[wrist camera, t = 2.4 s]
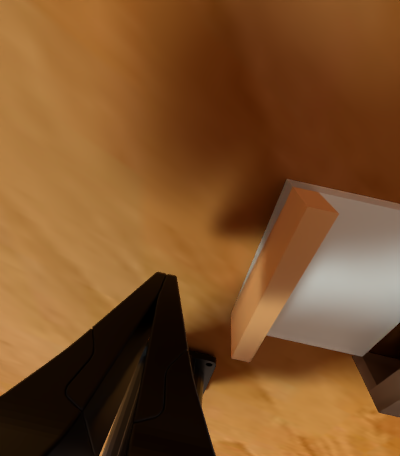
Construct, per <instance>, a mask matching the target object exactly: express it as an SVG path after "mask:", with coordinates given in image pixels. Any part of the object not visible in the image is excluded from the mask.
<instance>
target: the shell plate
mask: <svg viewBox="0 0 400 456" xmlns="http://www.w3.org/2000/svg"><path fill="white" fill-rule="evenodd" d="M399 323H400V204H399V203H394V202H390V201H385V200H381V199H376V198H372V197H367V196H363V195H358V194H354V193H349V192H345V191H340V190H336V189H331V188H327V187H322V186H318V185H313V184H309V183H304V182H300V181H295V180H291V179H286V182H285V184H284V186H283V189H282V191H281V194H280V196H279V199H278V201H277V203H276V206H275V208H274V211H273V213H272V215H271V218H270V220H269V223H268V225H267V228H266V230H265V232H264V235H263V237H262V240H261V242H260V244H259V247H258V249H257V252H256V254H255V257H254V259H253V261H252V264H251V266H250V269H249V271H248V273H247V276H246V278H245V281H244V283H243V285H242V288H241V290H240V293H239V295H238V298H237V300H236V302H235V305H234V307H233V310H232V312H231V358H232V359H236V360H241V361H245V362H251V360H252V358H253V357H254V355H255V353H256V352H257V350H258V348H259V347H260V345H261V343H262V342H263V340H264V338H265V337H266V335H267V336H272V337H276V338H281V339H285V340H290V341H294V342H299V343H303V344H307V345H312V346H316V347H321V348H325V349H330V350H334V351H339V352H343V353H348V354H352V355H357V356H361V357H362V356H363V355H365V354H366V353H367V352H368V351H369V350H370V349H371V348H372V347H373V346H374V345H376V344H377V343H378V342H379V341H380V340H381V339H382V338H383V337H384V336H386V335H387V334H388V333H389V332H390V331H391V330H392V329H393V328H394V327H395V326H397V325H398V324H399Z"/></svg>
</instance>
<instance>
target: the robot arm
mask: <svg viewBox="0 0 400 456" xmlns="http://www.w3.org/2000/svg"><path fill="white" fill-rule="evenodd" d="M92 329H93V330H92ZM92 329H90V330H88V331H87V332H86V333H85V334H84V335H83V336H82V337H80V338H79V339H78V340H77V341H75V342H74V343H73V344H72V345H70V346H69V347H68V348H67V349H65V350H64V351H63V352H61V353H60V354H59V355H57V356H56V357H55V358H53V359H52V360H51V361H49V362H48V363H46V364H45V365H44V366H42V367H41V368H39V369H38V370H37V371H35V372H34V373H32V374H31V375H30V376H28V377H27V378H25V379H24V380H23V381H21V382H20V383H18V384H17V385H16V386H14V387H13V388H11V389H10V390H9V391H7V392H6V393H4V394H3V395H1V396H0V456H99V454H100V452H101V450H102V447H103V445H104V443H105V440H106V438H107V436H108V433H109V431H110V429H111V426H112V424H113V426H112V429H111V432H110V435H109V437H108V440H107V443H106V446H105V448H104V451H103V454H102V456H216V455H215V452H214V449H213V445H212V442H211V439H210V435H209V432H208V428H207V425H206V421H205V418H204V414H203V411H202V396H203V394H204V391H205V389H206V387H207V385H208V383H209V380H210V378H211V376H212V374H213V371H214V369H215V367H216V358H215V357H213V356H210V355H206V354H202V353H197V352H193V351H188V344H187V338H186V332H185V326H184V320H183V313H182V307H181V301H180V295H179V288H178V282H177V277H176V276H175V275H170V274H167V275H166V274H165V273H161V272H156V273H155V274H154V275H153V276H152V277H151V278H149V279H148V280H147V281H146V282H145V283H144V284H142V285H141V286H140V287H139V288H138V289H136V290H135V291H134V292H133V293H132V294H131V295H129V296H128V297H127V298H126V299H125V300H124V301H122V302H121V303H120V304H119V305H118V306H117V307H115V308H114V309H113V310H112V311H111V312H110V313H108V314H107V315H106V316H105V317H104V318H103V319H101V320H100V321H99V322H98V323H97V324H96V325H94V326H93V328H92ZM148 339H149V342H148ZM116 414H117V415H116ZM115 417H116V418H115ZM114 419H115V421H114ZM113 421H114V423H113Z"/></svg>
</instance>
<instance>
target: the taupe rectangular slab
mask: <svg viewBox="0 0 400 456" xmlns="http://www.w3.org/2000/svg"><path fill="white" fill-rule="evenodd" d="M352 358H353V360H354V362H355V364H356V366H357V368H358V370H359V372H360V374H361V376H362V379H363V381H364V383H365V385H366V387H367V389H368V391H369V393H370V395H371V397H372V399H373V402H374V404H375V406H376V408H377V410H378V412H379V413H383V414H387V415H392V416H396V417H400V360H399V359H395V358H390V357H386V356H382V355H377V354H373V353H368V352H367V353H366V354H365V355H363V356H362V357H361V356H357V355H354V356H352Z"/></svg>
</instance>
